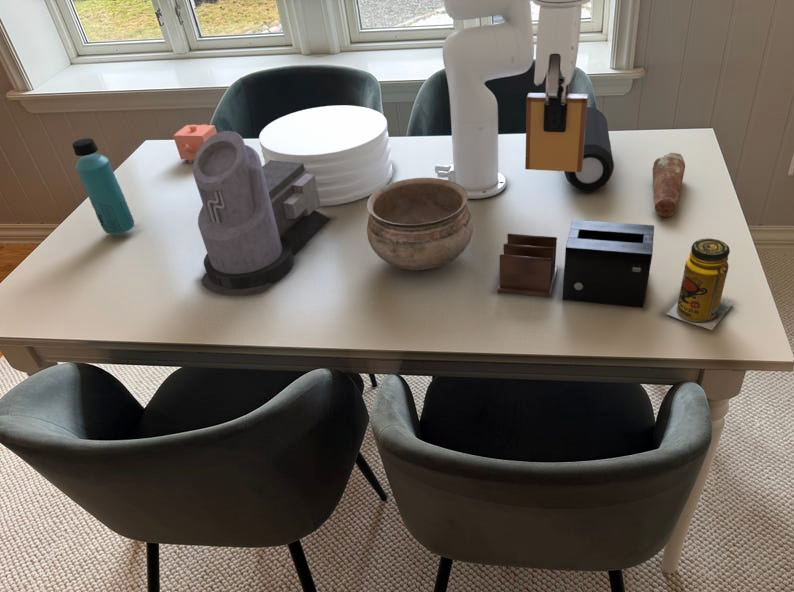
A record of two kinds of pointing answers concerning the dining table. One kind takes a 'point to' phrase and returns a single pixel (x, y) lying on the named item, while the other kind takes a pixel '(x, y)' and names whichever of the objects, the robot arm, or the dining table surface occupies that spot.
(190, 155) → the pink cube teapot
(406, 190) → the cooking pot
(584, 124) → the toast
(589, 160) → the portable speaker
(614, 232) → the toaster
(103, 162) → the beverage bottle
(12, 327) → the dining table surface
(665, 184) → the reddish-brown tapered rod
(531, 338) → the dining table surface
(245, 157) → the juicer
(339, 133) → the plate stack
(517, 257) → the rack
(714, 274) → the condiment
